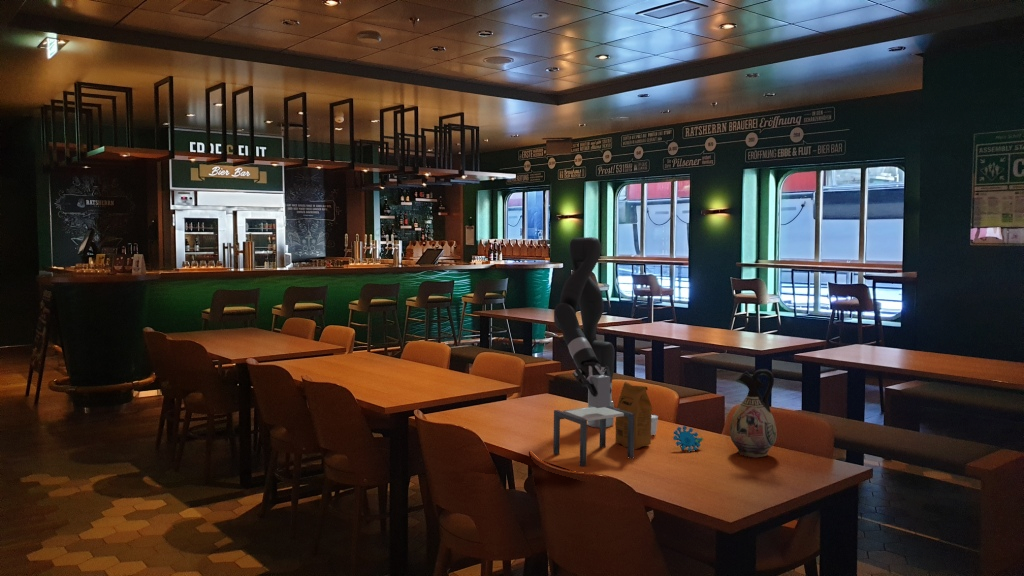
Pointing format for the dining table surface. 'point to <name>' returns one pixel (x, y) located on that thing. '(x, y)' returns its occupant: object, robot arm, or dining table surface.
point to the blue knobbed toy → (687, 438)
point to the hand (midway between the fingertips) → (602, 394)
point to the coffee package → (639, 404)
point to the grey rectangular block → (600, 391)
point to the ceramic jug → (754, 418)
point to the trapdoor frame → (583, 433)
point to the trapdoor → (594, 413)
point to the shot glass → (653, 424)
